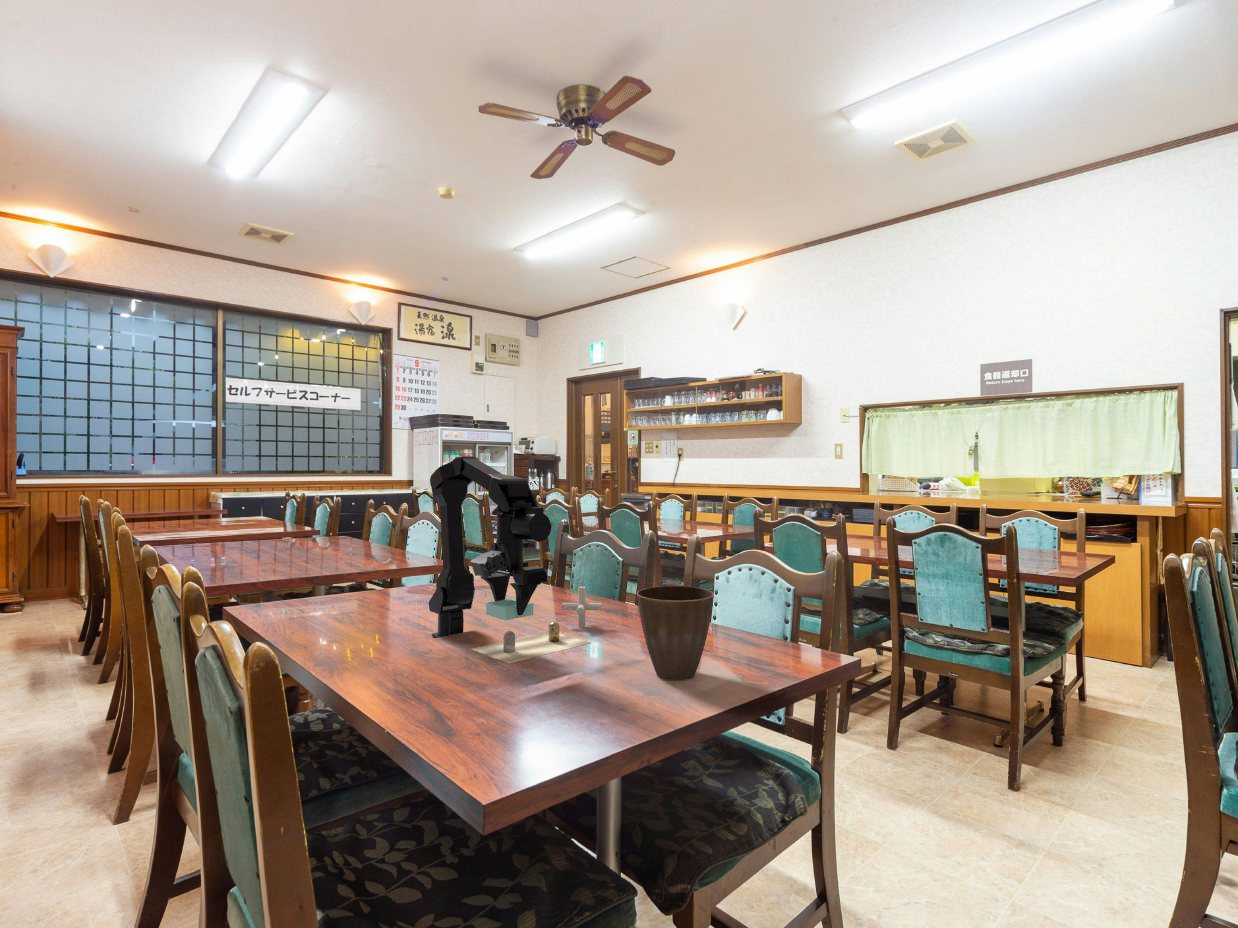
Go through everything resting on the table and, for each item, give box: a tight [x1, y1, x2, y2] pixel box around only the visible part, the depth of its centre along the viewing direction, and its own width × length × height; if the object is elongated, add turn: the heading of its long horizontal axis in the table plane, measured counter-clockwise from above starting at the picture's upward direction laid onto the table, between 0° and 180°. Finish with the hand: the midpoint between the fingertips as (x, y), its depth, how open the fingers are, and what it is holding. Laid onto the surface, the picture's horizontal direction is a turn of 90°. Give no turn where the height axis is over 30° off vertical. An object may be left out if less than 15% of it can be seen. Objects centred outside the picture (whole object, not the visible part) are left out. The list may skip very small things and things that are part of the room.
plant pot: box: [636, 585, 715, 682], centre depth 125 cm, size 15×15×16 cm
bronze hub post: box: [548, 621, 560, 642], centre depth 144 cm, size 2×2×4 cm
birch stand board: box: [471, 630, 592, 664], centre depth 139 cm, size 14×22×6 cm, turn 135°
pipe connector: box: [561, 586, 603, 628], centre depth 163 cm, size 10×10×10 cm
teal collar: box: [485, 597, 534, 621], centre depth 135 cm, size 7×7×2 cm
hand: (509, 612), depth 135 cm, fingers closed on teal collar, 7 cm apart
